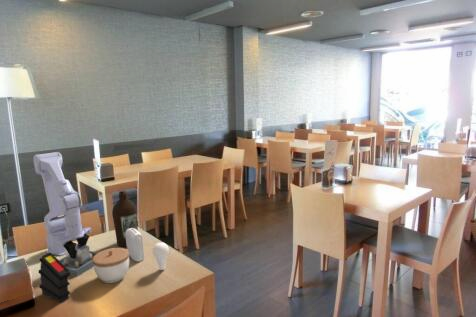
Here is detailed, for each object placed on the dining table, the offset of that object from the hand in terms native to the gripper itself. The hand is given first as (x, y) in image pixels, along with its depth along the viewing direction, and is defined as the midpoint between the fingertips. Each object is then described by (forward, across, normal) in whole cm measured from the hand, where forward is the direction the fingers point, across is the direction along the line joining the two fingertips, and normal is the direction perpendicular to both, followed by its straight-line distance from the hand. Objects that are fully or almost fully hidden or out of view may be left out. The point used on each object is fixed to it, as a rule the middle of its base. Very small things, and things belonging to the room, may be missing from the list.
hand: (77, 255), depth 133 cm
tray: (+4, 0, 0) cm, 4 cm away
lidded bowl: (+4, -3, -21) cm, 22 cm away
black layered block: (+4, -19, -12) cm, 23 cm away
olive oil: (+4, +23, -5) cm, 24 cm away
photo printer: (+4, +13, -18) cm, 23 cm away
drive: (+2, 0, 0) cm, 2 cm away
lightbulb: (+4, +8, -35) cm, 36 cm away
